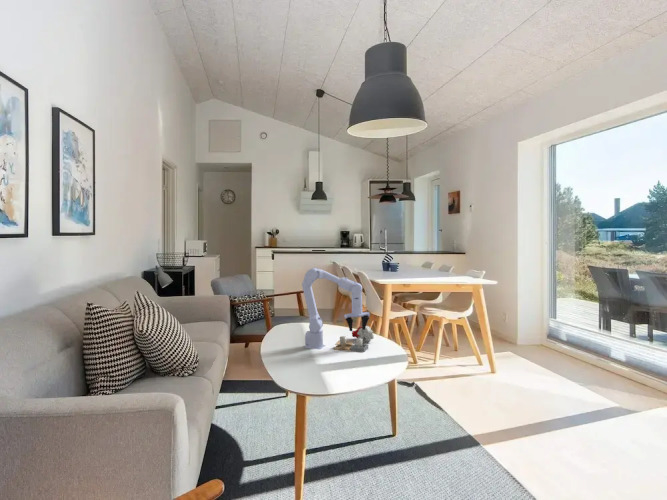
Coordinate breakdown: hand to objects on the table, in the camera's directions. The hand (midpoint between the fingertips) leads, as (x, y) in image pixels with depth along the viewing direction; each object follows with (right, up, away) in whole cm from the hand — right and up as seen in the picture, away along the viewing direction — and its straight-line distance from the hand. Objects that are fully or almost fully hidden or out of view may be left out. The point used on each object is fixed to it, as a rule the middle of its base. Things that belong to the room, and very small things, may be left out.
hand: (357, 330), depth 234 cm
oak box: (-7, -10, 0) cm, 12 cm away
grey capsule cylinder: (-8, -10, +2) cm, 13 cm away
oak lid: (-7, -10, +10) cm, 16 cm away
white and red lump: (+4, -10, +16) cm, 19 cm away
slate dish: (+1, -10, -3) cm, 11 cm away
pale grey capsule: (+1, -10, -3) cm, 10 cm away
